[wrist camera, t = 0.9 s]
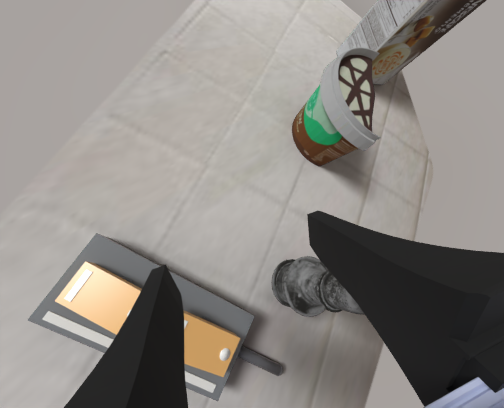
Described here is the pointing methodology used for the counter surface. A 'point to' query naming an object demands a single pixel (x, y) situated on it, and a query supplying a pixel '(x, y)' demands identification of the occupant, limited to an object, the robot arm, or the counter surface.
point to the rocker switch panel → (137, 273)
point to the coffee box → (404, 31)
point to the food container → (338, 110)
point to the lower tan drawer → (208, 345)
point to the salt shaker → (310, 288)
